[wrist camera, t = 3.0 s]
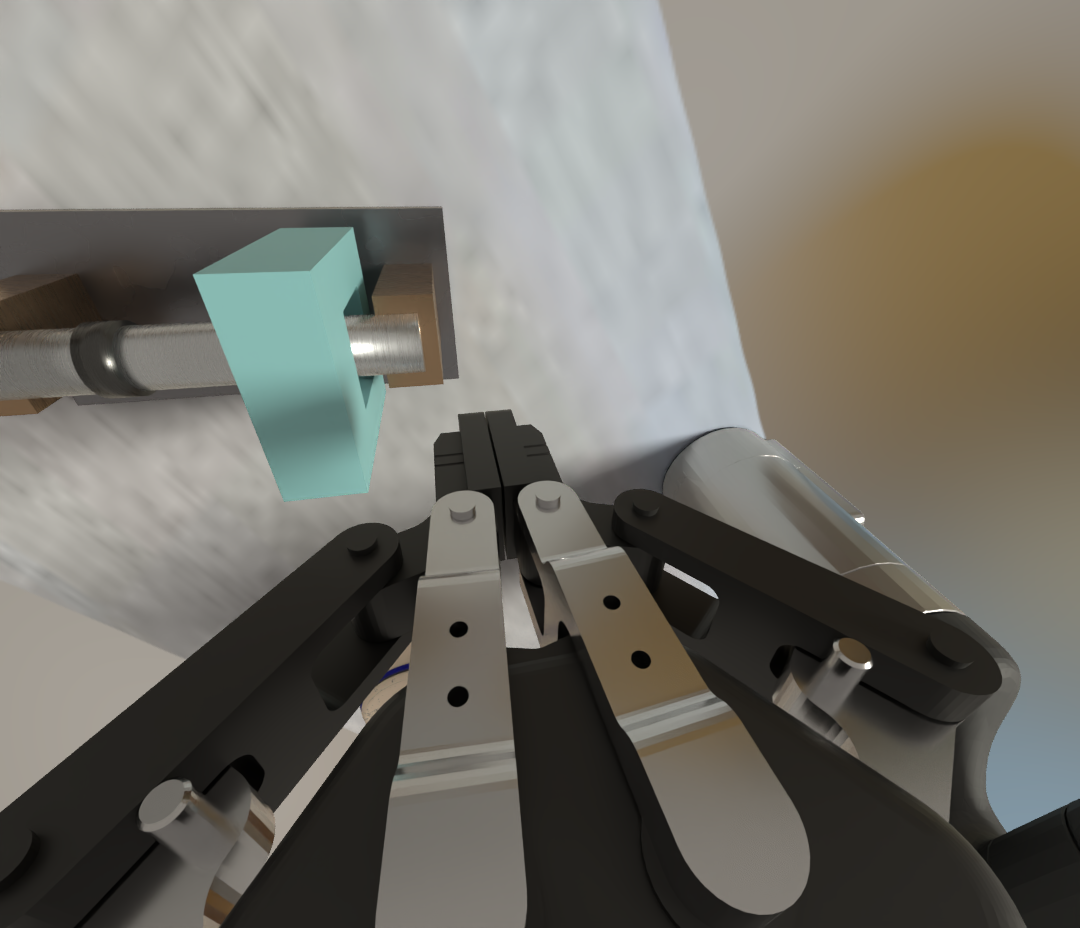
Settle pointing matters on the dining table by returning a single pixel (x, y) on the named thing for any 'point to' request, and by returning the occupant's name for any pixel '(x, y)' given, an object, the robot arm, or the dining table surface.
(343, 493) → the collar
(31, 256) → the pipe rig
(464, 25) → the dining table surface
